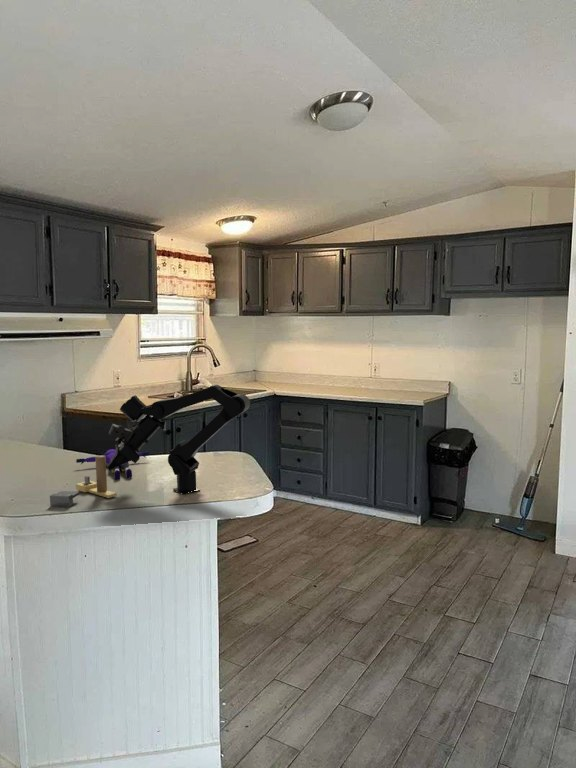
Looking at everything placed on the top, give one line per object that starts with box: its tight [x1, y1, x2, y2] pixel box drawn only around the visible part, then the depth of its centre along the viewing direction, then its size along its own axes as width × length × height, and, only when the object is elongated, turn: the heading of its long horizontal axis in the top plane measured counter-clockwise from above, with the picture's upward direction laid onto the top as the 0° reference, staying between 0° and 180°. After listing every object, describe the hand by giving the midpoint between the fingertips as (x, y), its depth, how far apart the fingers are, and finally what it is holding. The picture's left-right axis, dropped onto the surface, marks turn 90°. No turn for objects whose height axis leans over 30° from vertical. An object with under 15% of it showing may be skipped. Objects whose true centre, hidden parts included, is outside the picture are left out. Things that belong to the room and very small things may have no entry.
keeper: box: [49, 490, 81, 508], centre depth 166 cm, size 6×6×3 cm
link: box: [75, 455, 118, 499], centre depth 176 cm, size 16×5×12 cm, turn 52°
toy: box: [75, 448, 150, 481], centre depth 206 cm, size 27×6×30 cm
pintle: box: [80, 475, 91, 493], centre depth 179 cm, size 4×4×5 cm
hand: (108, 468), depth 175 cm, fingers closed
